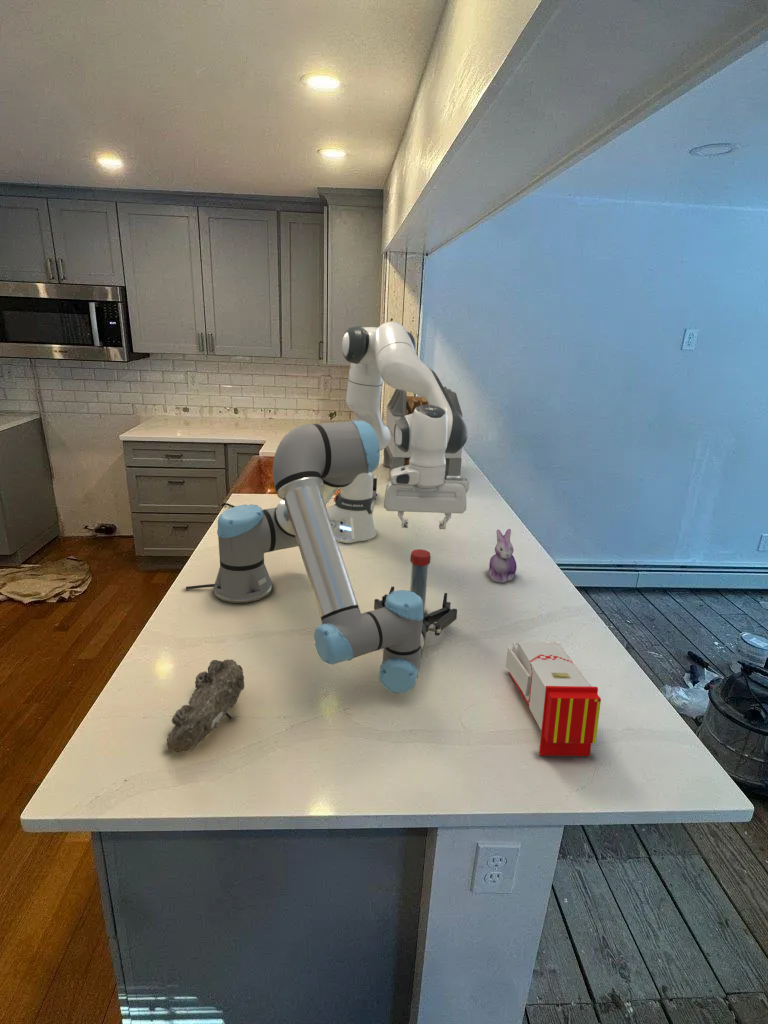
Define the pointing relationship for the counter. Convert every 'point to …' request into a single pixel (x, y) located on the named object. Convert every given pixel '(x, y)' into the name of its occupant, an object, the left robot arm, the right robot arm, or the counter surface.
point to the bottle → (419, 582)
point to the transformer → (406, 406)
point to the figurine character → (374, 487)
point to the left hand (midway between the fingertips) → (418, 594)
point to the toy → (556, 697)
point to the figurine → (502, 559)
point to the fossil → (206, 705)
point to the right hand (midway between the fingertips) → (423, 528)
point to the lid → (420, 557)
